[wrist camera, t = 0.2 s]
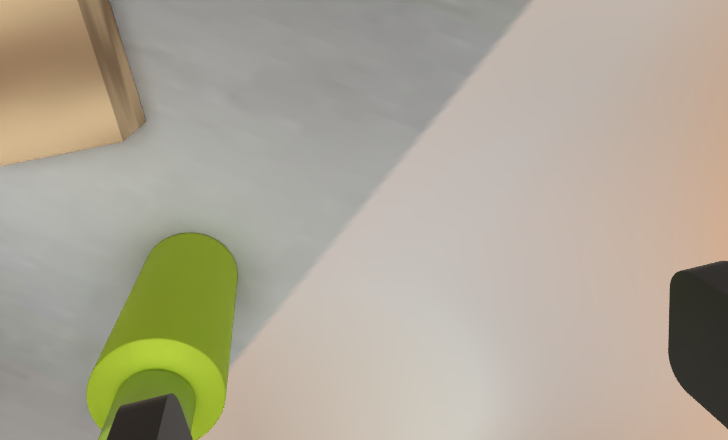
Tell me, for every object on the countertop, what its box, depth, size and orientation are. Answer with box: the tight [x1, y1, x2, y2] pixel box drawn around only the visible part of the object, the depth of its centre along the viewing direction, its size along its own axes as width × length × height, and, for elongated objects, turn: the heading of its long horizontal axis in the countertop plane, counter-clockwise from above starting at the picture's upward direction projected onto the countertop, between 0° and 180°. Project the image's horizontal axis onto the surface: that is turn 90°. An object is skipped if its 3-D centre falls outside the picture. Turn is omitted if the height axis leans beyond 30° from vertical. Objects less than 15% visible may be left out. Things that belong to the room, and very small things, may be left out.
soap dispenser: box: [87, 233, 238, 440], centre depth 29 cm, size 6×7×20 cm
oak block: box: [0, 0, 146, 166], centre depth 29 cm, size 9×9×6 cm
